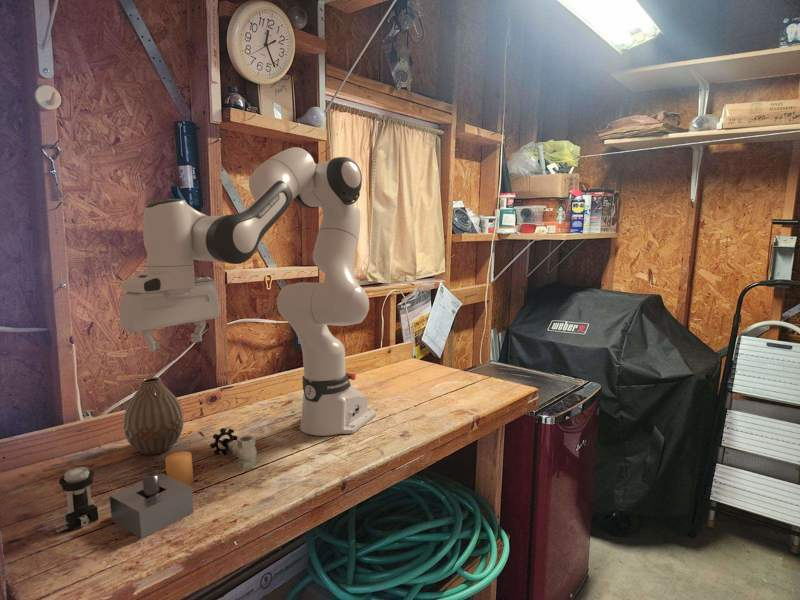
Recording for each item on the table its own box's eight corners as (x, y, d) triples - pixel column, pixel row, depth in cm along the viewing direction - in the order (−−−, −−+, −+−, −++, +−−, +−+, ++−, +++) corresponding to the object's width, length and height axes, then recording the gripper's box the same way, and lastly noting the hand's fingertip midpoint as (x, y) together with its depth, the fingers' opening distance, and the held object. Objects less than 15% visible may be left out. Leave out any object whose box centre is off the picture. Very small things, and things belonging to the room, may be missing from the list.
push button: (62, 539, 86) (56, 485, 84) (51, 528, 89) (45, 476, 88) (104, 521, 91) (98, 470, 90) (91, 512, 94) (86, 462, 93)
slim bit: (156, 511, 94) (153, 471, 93) (164, 515, 93) (161, 474, 92) (143, 517, 92) (139, 477, 91) (150, 522, 91) (147, 480, 90)
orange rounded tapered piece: (184, 475, 108) (182, 449, 107) (198, 481, 105) (196, 455, 104) (162, 485, 104) (160, 458, 103) (176, 492, 101) (174, 464, 100)
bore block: (163, 496, 99) (161, 473, 99) (193, 511, 94) (191, 486, 93) (111, 521, 91) (109, 495, 90) (141, 539, 86) (139, 512, 85)
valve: (265, 463, 113) (236, 449, 121) (264, 436, 112) (234, 423, 120) (240, 474, 108) (210, 459, 116) (238, 445, 107) (209, 432, 115)
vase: (173, 433, 131) (168, 369, 129) (193, 448, 122) (188, 379, 119) (119, 448, 122) (112, 380, 120) (136, 466, 113) (129, 392, 110)
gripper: (206, 275, 111) (210, 335, 113) (112, 283, 94) (118, 354, 96) (224, 276, 108) (228, 338, 110) (129, 285, 91) (136, 358, 93)
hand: (176, 346), depth 103 cm, fingers open, 8 cm apart
